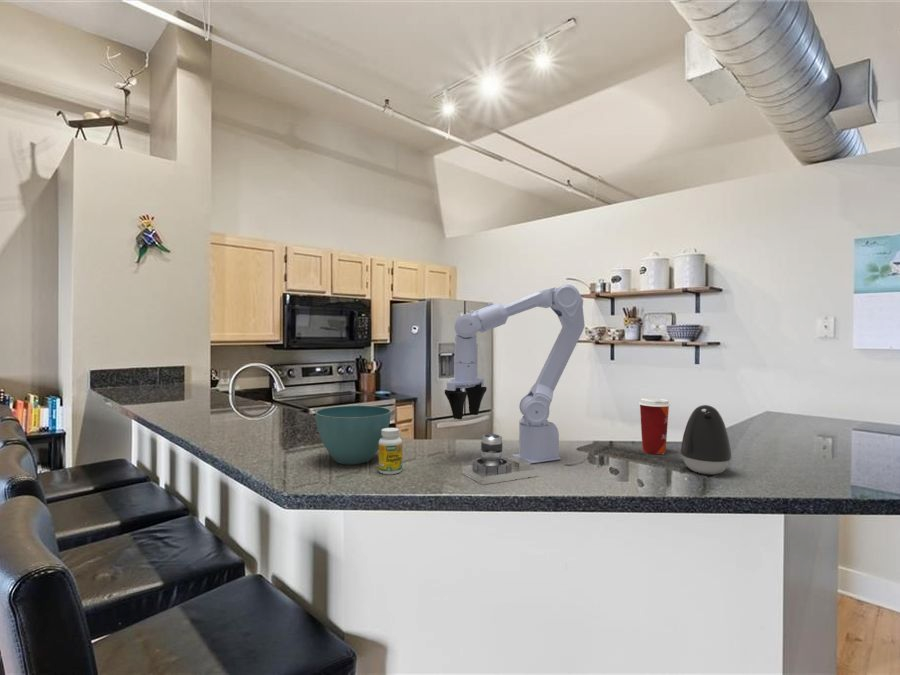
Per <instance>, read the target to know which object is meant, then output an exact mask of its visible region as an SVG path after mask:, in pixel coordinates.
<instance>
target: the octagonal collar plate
mask: <svg viewBox="0 0 900 675" xmlns="http://www.w3.org/2000/svg"><path fill="white" fill-rule="evenodd" d="M461 469H462V470H461V471H462V473H463V475H464V476H466V477H468V478H469V479H472V480H473V481H475V482H477V483H478V484H480V485H482V486H483V485H489V484H496V483H503V482H509V481H514V480H515V479H517V480H522V478H523V479H529V478H528V477H530V478H535V477H538V470H539V469H538V468H537V467H534V466H532V465H531V463H530V461H528V460H525V459H523V458H520V457H518V456H517V457H513V456H512V457H507V458H506V457H502V456H501V465H497V466H490V465H483V464H481V456H480V457H476V458H474V459H472V464H469V465H463V466H462V468H461ZM515 481H516V480H515Z"/></svg>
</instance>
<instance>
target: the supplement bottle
mask: <svg viewBox="0 0 900 675" xmlns="http://www.w3.org/2000/svg"><path fill="white" fill-rule="evenodd" d="M381 435H382V436H383V438H381V439H380V440H379V450H378V472H379V473H380V474H382V473H383V474H382V475H396V474H399V473H401V472H402V471H403V440H402V439H401V437H399V435H400V429H399V428H397V427H388V428H384V429H382V430H381Z"/></svg>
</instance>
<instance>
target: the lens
mask: <svg viewBox="0 0 900 675" xmlns="http://www.w3.org/2000/svg"><path fill="white" fill-rule="evenodd" d="M480 451H481V456H480V457H481V464H483V465H490V466H497V465H501V457H502V455H503V454H502V453H503V436H502V435H500V434H495V433H487V434H486V433H485V434H482V435H481V441H480Z"/></svg>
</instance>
